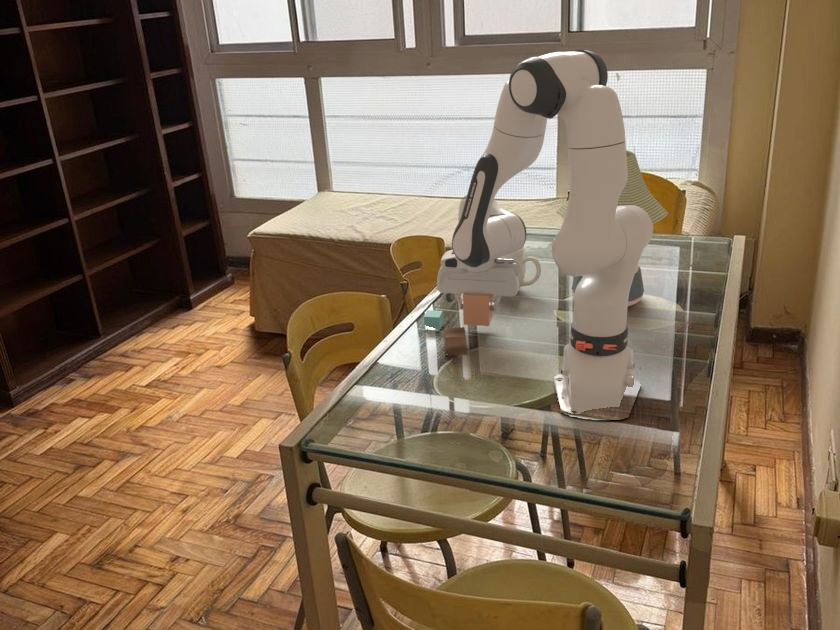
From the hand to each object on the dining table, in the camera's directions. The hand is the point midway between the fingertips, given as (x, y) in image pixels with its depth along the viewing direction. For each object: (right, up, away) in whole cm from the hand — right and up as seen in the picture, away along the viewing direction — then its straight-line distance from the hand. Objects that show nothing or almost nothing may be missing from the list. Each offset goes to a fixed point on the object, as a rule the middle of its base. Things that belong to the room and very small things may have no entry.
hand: (478, 309), depth 201 cm
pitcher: (+11, +5, +25) cm, 28 cm away
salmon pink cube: (0, -3, +1) cm, 3 cm away
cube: (-11, -5, +6) cm, 13 cm away
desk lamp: (+36, +2, +17) cm, 40 cm away
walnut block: (-6, -10, -6) cm, 13 cm away
